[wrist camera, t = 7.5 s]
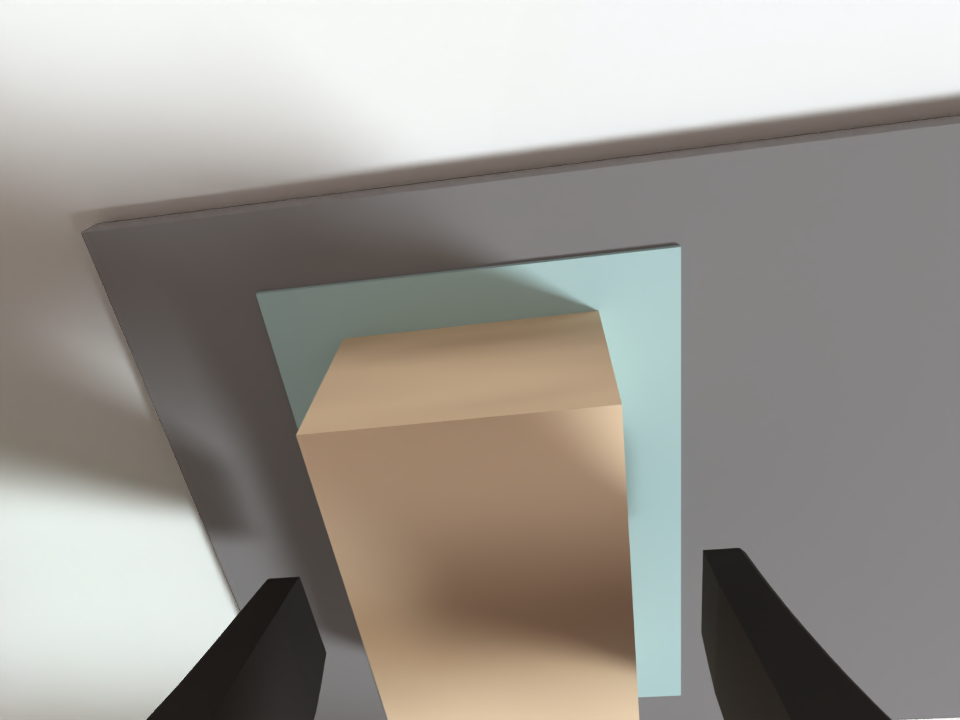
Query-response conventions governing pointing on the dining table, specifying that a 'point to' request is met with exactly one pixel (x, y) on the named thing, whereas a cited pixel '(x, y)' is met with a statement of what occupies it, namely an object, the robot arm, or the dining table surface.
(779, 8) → the dining table surface
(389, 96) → the dining table surface
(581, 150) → the dining table surface
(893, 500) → the mat
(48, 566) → the dining table surface
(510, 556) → the tan wooden block
